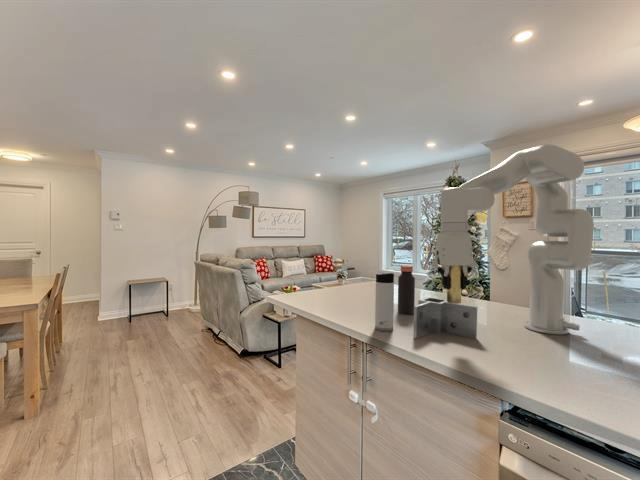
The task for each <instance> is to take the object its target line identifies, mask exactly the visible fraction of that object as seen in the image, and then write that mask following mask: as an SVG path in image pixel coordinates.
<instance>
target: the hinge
mask: <svg viewBox="0 0 640 480" xmlns="http://www.w3.org/2000/svg"><path fill="white" fill-rule="evenodd" d="M417 303H418V304H417V305H414V314H413V333H412V335H413V336H412V337H413V339H418V338H420V337H423V336H424V335H426V334H428V333H434V334H438V335H442V334H443V333H448V334H453V335H455V336H456V335H457V336H460V337H463V338H464V337H465V338H469V339H473V340H477V338H478V334H477V333H478V306H474V305H473V306H472V305H467V304H461V303H459V304H454V303H448V302H447V299H443V298H437V297H432V296H426V297H424V298H420V299H418V302H417Z"/></svg>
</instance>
